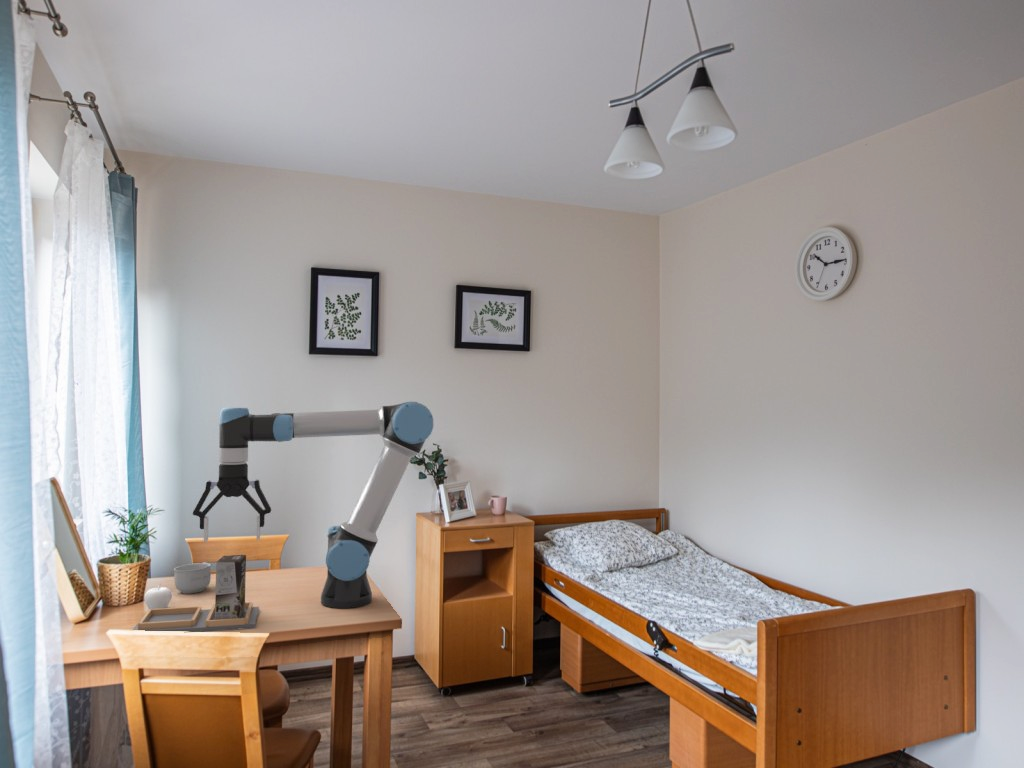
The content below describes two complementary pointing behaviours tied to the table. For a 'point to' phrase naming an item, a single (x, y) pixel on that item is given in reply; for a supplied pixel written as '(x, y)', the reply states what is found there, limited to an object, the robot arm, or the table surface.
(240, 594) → the coffee box
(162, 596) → the plain white apple
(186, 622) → the plate
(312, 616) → the table surface
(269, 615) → the table surface
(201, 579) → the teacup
